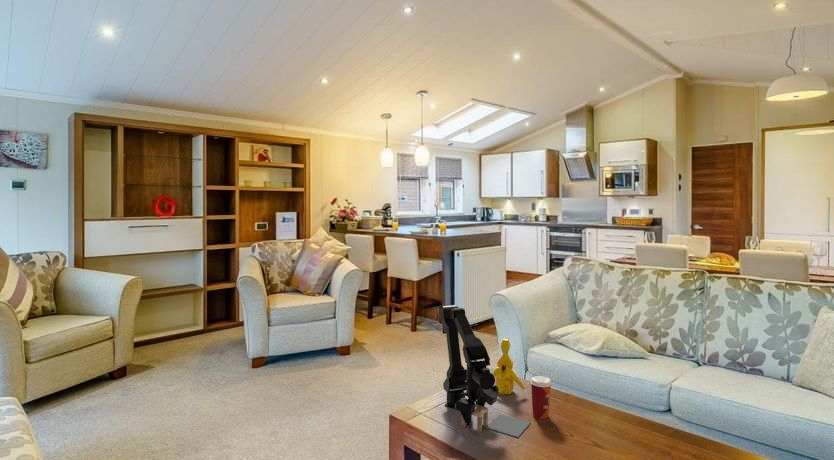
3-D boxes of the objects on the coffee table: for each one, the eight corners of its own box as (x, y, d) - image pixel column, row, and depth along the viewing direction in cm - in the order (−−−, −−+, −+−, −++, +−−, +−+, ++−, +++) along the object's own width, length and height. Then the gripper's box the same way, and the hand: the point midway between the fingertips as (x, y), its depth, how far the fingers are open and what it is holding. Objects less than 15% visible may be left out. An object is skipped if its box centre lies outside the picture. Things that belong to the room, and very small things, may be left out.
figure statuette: (481, 392, 192) (482, 341, 191) (485, 385, 200) (485, 336, 198) (524, 398, 186) (525, 345, 185) (526, 391, 194) (527, 340, 192)
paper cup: (552, 421, 167) (552, 384, 166) (530, 419, 169) (530, 382, 168) (550, 411, 175) (550, 376, 174) (529, 409, 176) (530, 374, 175)
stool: (461, 426, 164) (461, 408, 163) (469, 420, 168) (469, 402, 168) (480, 432, 159) (480, 414, 159) (487, 425, 164) (487, 407, 164)
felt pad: (485, 428, 162) (485, 427, 162) (499, 414, 172) (499, 413, 172) (518, 437, 156) (518, 436, 156) (530, 423, 166) (530, 422, 166)
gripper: (483, 393, 151) (483, 438, 152) (506, 374, 166) (505, 416, 167) (454, 385, 157) (454, 429, 158) (478, 368, 172) (478, 408, 173)
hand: (474, 420), depth 164 cm, fingers open, 9 cm apart
